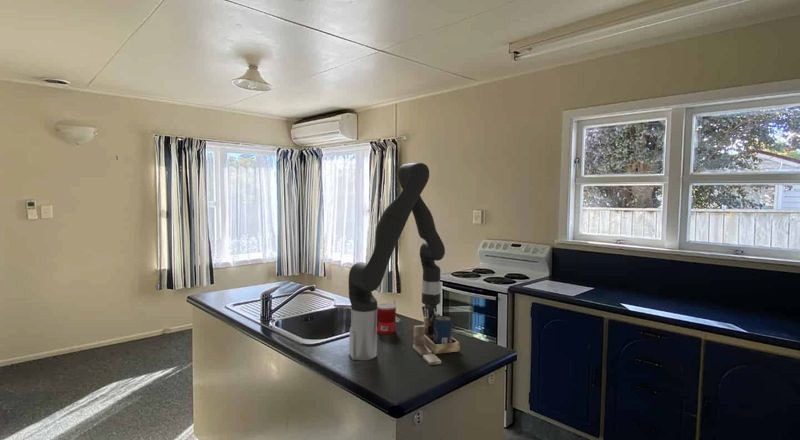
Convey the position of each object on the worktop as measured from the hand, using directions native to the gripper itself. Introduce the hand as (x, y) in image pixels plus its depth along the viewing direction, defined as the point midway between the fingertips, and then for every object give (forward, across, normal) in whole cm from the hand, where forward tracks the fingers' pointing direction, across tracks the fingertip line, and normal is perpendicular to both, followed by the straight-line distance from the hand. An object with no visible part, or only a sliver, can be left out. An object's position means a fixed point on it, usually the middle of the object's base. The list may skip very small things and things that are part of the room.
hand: (430, 333), depth 168 cm
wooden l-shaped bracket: (+2, +16, -8) cm, 18 cm away
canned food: (+2, -12, -15) cm, 20 cm away
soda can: (+2, +12, 0) cm, 13 cm away
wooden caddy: (+2, +8, 0) cm, 8 cm away
